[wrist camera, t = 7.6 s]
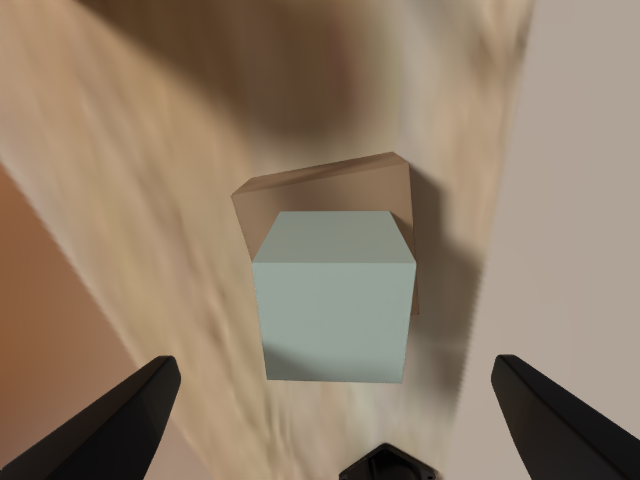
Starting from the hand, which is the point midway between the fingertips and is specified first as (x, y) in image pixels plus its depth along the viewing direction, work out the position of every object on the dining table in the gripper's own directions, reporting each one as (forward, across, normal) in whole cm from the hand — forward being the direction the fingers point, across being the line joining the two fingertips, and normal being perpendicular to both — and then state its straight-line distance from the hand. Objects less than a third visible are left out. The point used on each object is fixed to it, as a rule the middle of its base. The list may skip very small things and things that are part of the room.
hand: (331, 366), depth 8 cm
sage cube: (+7, 0, 0) cm, 7 cm away
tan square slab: (+11, 0, 0) cm, 11 cm away
